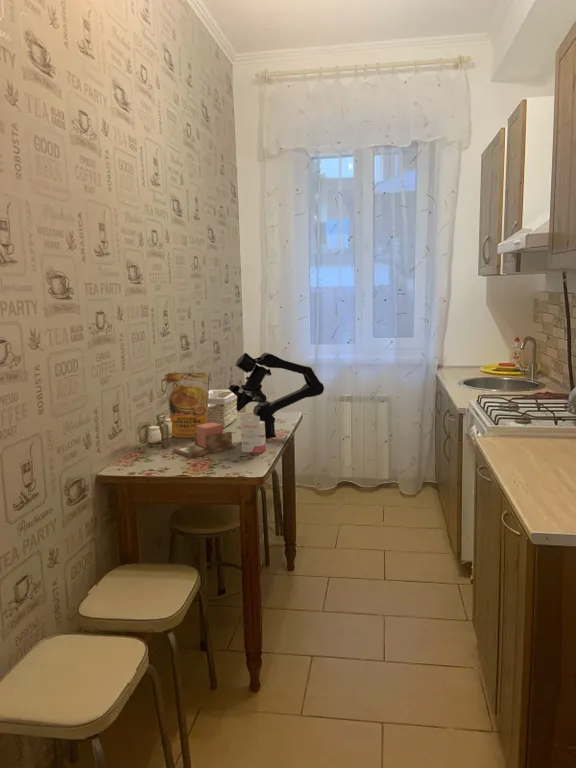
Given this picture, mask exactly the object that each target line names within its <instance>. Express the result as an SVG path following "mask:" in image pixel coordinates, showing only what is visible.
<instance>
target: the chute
mask: <svg viewBox="0 0 576 768" xmlns="http://www.w3.org/2000/svg"><path fill="white" fill-rule="evenodd" d="M232 433H233V432H232V431H227V432H223V433H221V434H216V435H211V436H206V448H204V447H202V446H199V445H197V432H195V433H194V434H195V438H194V443H191V444H185V445H180V446H177V447H173V448H172V449H173V450H172V451H173V452H175V453H176V454H177V453H178V454H180V455H182V456H185V457H187V458H188V459H192V458H197V457H202V456H206V455H210V454H209V453H211V454H213V453H212V452H215V453H218V452H217V451H219V452H223V451H222V450H224V451H227V450H226V449H228V450H231V448H233V449H235V444H233V438H232V437H233V435H232ZM205 454H206V455H205Z"/></svg>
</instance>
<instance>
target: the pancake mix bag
mask: <svg viewBox="0 0 576 768" xmlns="http://www.w3.org/2000/svg"><path fill="white" fill-rule="evenodd" d="M164 380H165V388H166V395H167V403H168V409H169V418H170V423H171V422H172V436H174V437H173V438H175V439H195V434H194V433H195V432H196V425H202V424H207V411H208V399H209V390H210V375H209V374H207V372H172V373H171V372H169V373H166V374H165V375H164Z"/></svg>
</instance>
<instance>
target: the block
mask: <svg viewBox="0 0 576 768" xmlns="http://www.w3.org/2000/svg"><path fill="white" fill-rule="evenodd" d="M223 429H224V428H223V427H222V425H221V424H217V423H214V422H212V423H207V424H202V425H196V432H197V445H199V446H202V447H204V448H206V436H211V435H216V434H221V433H224V431H223Z"/></svg>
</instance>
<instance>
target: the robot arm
mask: <svg viewBox="0 0 576 768" xmlns="http://www.w3.org/2000/svg"><path fill="white" fill-rule="evenodd" d="M235 367H237V368H238V369H240V370H241V371H243V372H245V373H246V374H248V373H250V375H248V376H246V377H245V380H246V382H245V384H241V386H239V385H237V384H230V385H229V387H228V390H230V391H231V392H232V393H234V394H235V395H236V396H237V408H236V410H237V411H238V412H240V411H241V410H243V408H245V407H246V406H247V405H248V404H249V403H257V404H256V405H255V406H254V408H253V411H252V413H253V416H259V417H260V421H265V438H271V437H276V436H277V434H276V432H275V431H276V429H275V422H276V418H275V416H273V415H275V413H276V412H278V411H279V410H281V409H284V408H286V407H288V406H291V405H293V404H295V403H297V402H299V401H301V400H303V399H307V398H313V397H318V396H320V395H322V394H323V393H324V390H325V386H324V384H323V383H322V382H321V381H320V379H319V378H318V376H317V375H316V373H315V372H314V370H313V368H312V367H311V366H309V365H302V364H299V363H295V362H291V361H288V360H284V359H283V358H280V357H279V356H276V355H274V354H272V353H269V352H264V353H262V354H261V355H260V356H259V357H255V358H253V357H251V355H249V353H247V352H244V353H243V354H242V355H240V357H239V358H238V359H237V360H236V362H235ZM267 368H268V369H267ZM269 368H271V369H272V368H273V369H283V370H286V371H290V372H293V373H297V374H301V375H302V376H303V378H304V381H305V384H304V385H303V386H302V387H301V388H299V389H297V390H295V391H292V392H291V393H289V394H286V395H285V396H282V397H280V398H278V399H275V400H273V401H268V399H267V395H266V394H265V393H263V390H262V388H263V385H262V383H263V380H264V379H265V377H269V376H272V373H271V372H272V371H271V369H269Z"/></svg>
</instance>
